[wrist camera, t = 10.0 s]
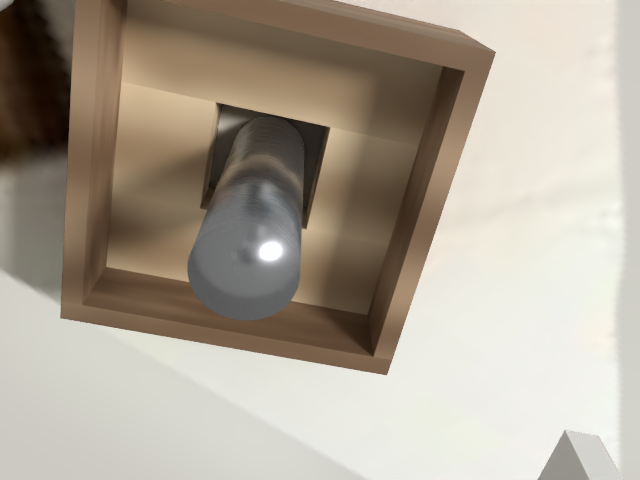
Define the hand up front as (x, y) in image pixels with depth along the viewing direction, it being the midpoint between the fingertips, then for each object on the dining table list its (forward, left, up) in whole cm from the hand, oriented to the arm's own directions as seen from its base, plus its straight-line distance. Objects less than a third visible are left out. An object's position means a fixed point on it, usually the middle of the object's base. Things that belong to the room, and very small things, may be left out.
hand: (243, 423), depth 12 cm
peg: (+2, -1, -23) cm, 24 cm away
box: (+2, -1, -23) cm, 24 cm away
